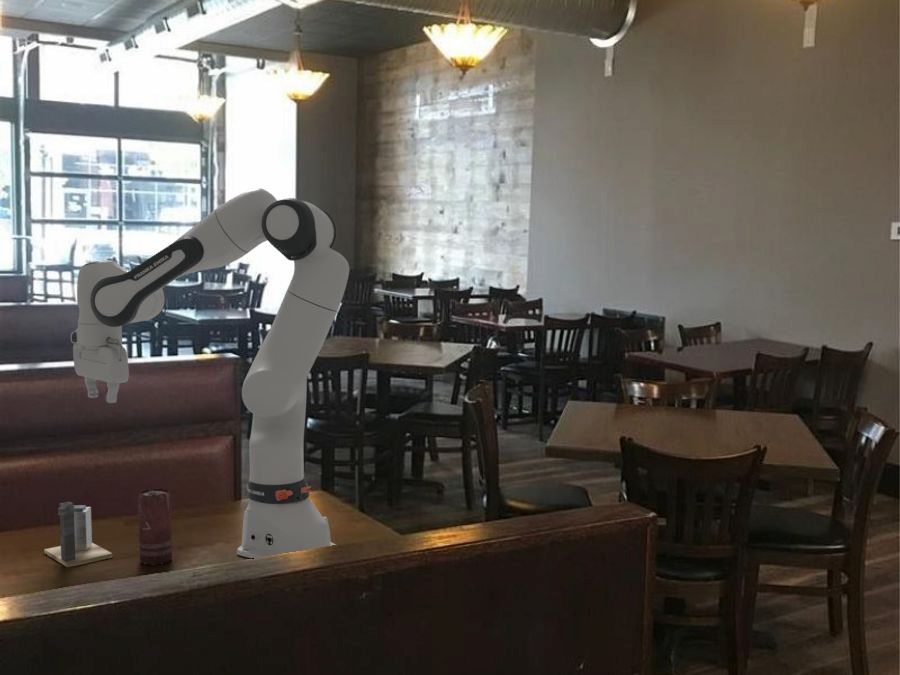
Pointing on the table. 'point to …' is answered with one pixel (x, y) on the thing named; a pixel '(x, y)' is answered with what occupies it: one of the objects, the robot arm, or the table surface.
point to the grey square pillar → (82, 527)
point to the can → (155, 526)
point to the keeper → (73, 542)
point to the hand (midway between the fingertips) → (102, 400)
